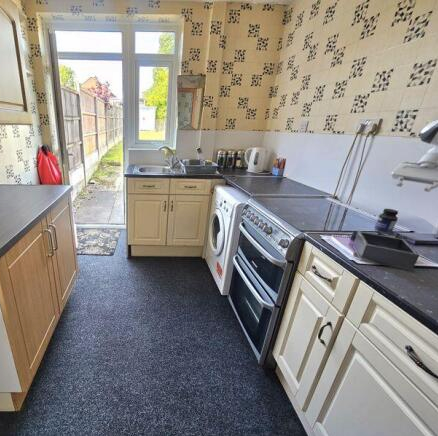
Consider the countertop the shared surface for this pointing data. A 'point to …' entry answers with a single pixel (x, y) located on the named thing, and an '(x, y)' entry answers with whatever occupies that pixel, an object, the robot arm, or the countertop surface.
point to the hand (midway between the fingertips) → (412, 188)
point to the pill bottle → (386, 221)
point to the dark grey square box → (385, 250)
